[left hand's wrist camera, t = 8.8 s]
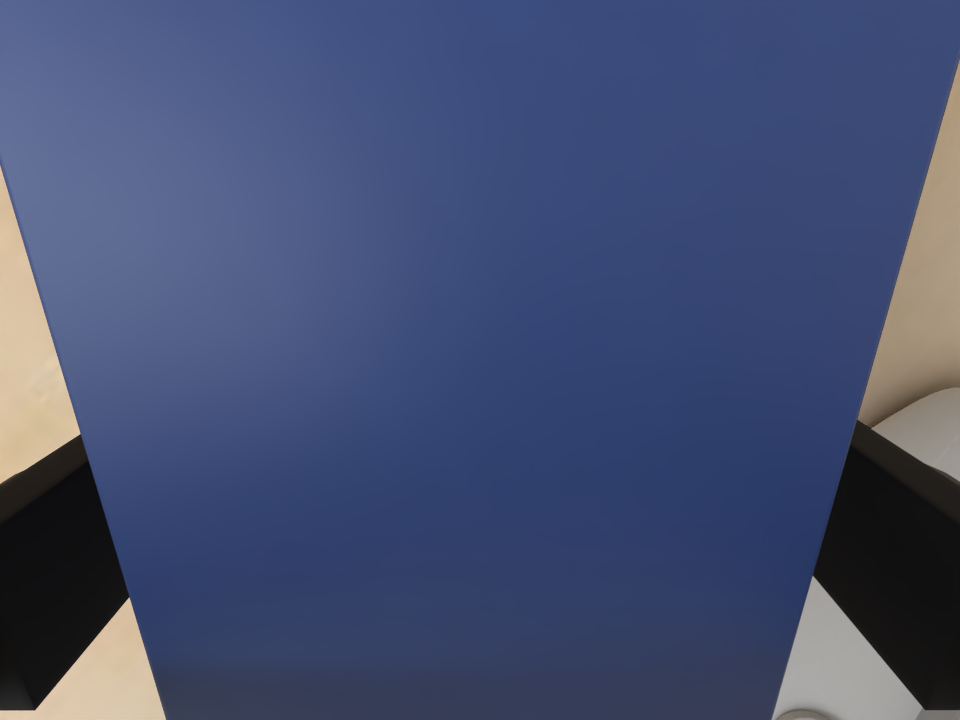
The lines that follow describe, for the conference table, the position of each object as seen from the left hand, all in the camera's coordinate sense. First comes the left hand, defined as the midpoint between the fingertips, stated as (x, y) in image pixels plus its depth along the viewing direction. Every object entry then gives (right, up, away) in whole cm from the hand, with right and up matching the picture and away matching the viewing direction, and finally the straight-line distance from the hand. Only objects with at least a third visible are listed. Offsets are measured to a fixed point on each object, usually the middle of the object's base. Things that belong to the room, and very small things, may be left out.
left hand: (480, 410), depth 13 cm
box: (0, +10, 0) cm, 10 cm away
